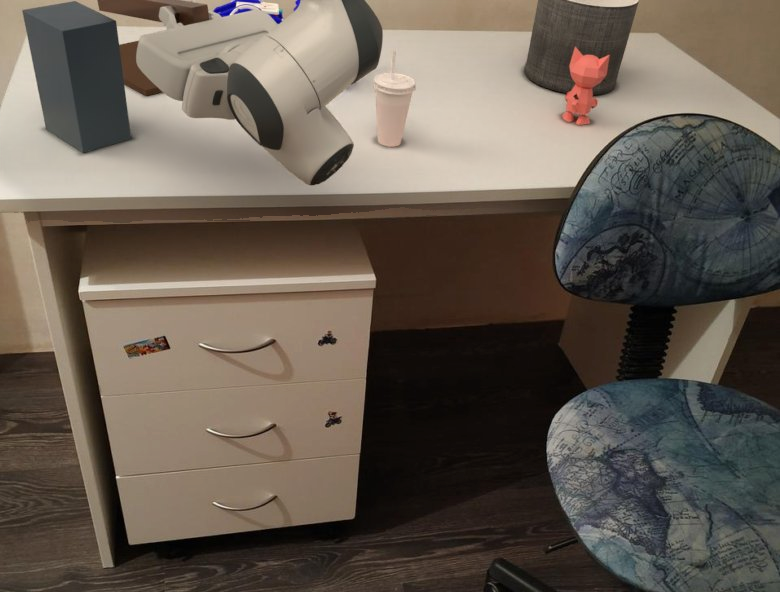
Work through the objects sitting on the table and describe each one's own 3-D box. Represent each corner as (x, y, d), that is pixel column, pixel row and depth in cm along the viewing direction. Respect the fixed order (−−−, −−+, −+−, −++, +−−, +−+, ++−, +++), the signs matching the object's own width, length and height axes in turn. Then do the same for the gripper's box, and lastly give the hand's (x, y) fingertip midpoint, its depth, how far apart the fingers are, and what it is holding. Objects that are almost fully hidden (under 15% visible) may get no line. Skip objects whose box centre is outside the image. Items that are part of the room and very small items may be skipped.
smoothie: (365, 133, 128) (371, 43, 119) (403, 132, 130) (412, 43, 121) (374, 150, 124) (381, 58, 115) (414, 150, 125) (424, 58, 116)
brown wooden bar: (195, 29, 98) (192, 7, 97) (99, 10, 109) (95, -9, 107) (210, 25, 100) (207, 4, 98) (114, 7, 110) (110, -12, 109)
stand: (83, 153, 115) (62, 31, 104) (45, 129, 119) (21, 9, 108) (131, 138, 120) (116, 20, 109) (93, 116, 124) (75, 0, 113)
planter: (622, 100, 149) (648, 11, 139) (528, 90, 149) (546, 0, 138) (607, 67, 163) (629, -17, 152) (520, 57, 162) (536, -28, 152)
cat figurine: (599, 119, 142) (618, 49, 134) (589, 132, 137) (608, 61, 129) (561, 109, 144) (577, 40, 136) (549, 121, 139) (566, 50, 131)
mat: (146, 96, 132) (145, 90, 131) (78, 59, 141) (77, 53, 140) (232, 73, 142) (232, 67, 142) (164, 40, 152) (163, 35, 151)
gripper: (314, 42, 102) (243, -27, 104) (188, 77, 90) (110, -2, 92) (300, 82, 107) (232, 16, 109) (178, 121, 94) (104, 45, 97)
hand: (175, 8), depth 100 cm, fingers closed on brown wooden bar, 2 cm apart
